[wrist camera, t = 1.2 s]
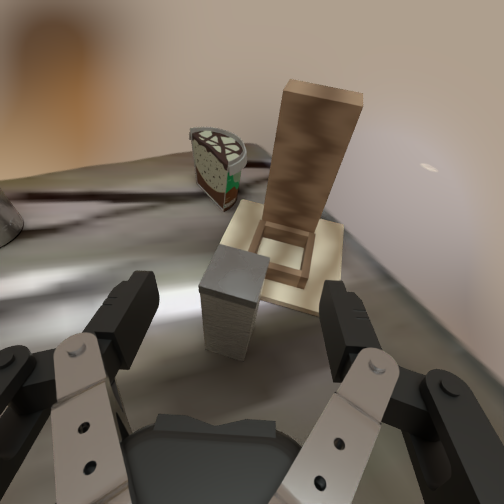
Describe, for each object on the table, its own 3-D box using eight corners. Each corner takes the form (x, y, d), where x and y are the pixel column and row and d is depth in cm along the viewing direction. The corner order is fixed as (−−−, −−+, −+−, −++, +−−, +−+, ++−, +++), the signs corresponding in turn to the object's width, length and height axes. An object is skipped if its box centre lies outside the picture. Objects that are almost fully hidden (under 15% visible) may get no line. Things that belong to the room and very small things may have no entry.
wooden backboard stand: (202, 282, 36) (190, 124, 20) (241, 203, 47) (253, 64, 32) (335, 321, 34) (438, 180, 18) (341, 229, 45) (407, 94, 30)
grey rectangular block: (204, 349, 30) (198, 285, 20) (218, 314, 33) (219, 243, 23) (243, 362, 29) (257, 302, 20) (254, 325, 32) (270, 257, 23)
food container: (257, 205, 48) (264, 153, 40) (228, 216, 45) (230, 163, 37) (220, 171, 53) (220, 120, 46) (192, 179, 51) (188, 126, 43)
